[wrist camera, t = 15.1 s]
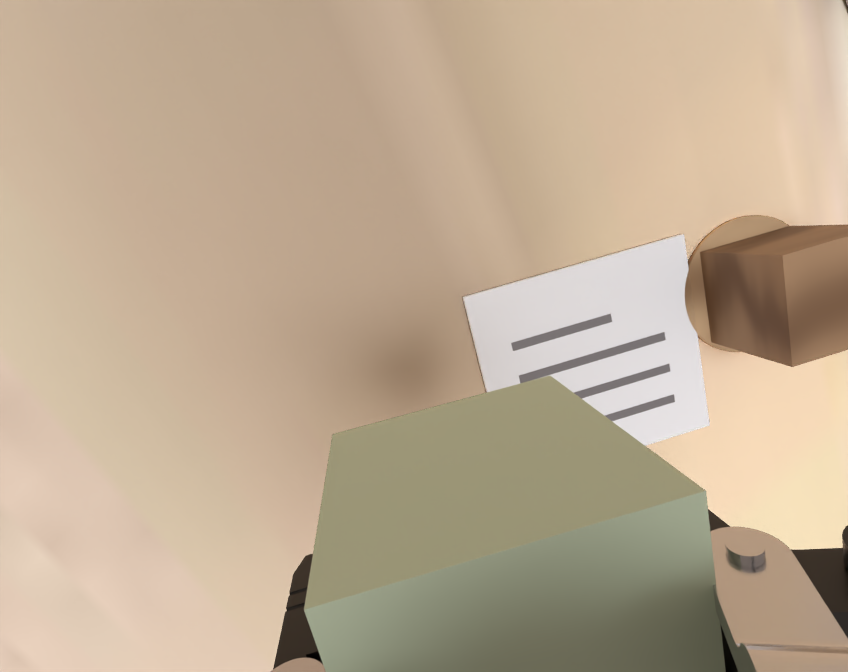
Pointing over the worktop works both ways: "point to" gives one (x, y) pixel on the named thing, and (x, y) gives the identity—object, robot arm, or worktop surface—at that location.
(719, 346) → the coaster
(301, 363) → the worktop surface
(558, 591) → the sage cube
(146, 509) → the worktop surface
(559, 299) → the letter
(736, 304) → the walnut block
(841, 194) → the worktop surface
